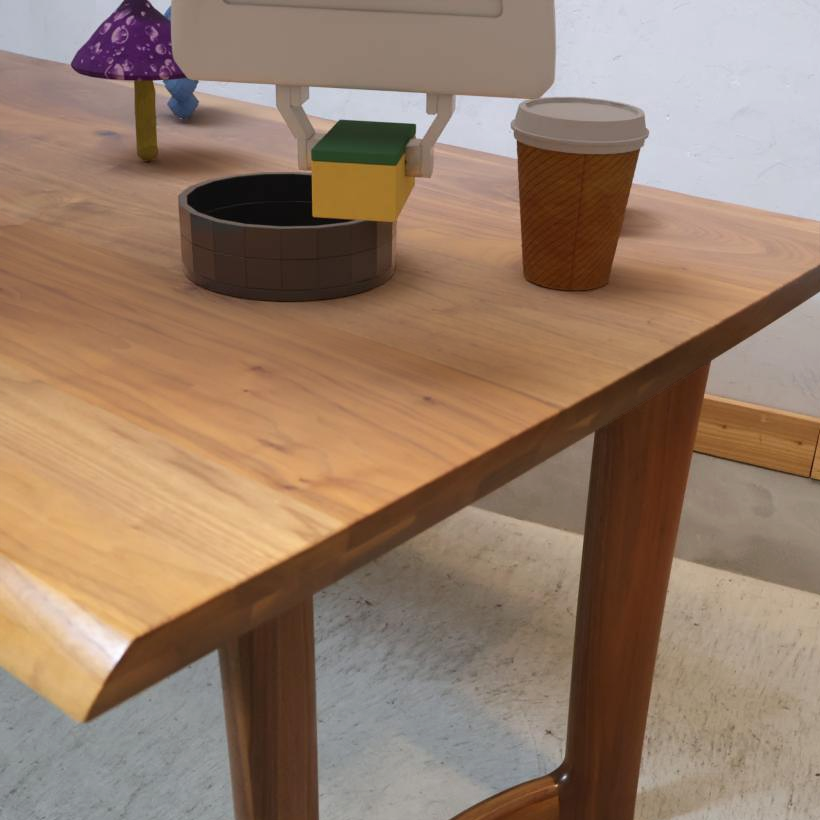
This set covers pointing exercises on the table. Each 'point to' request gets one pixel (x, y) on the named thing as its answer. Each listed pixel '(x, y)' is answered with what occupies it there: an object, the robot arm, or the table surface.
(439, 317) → the table surface
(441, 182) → the table surface
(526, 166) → the disposable coffee cup
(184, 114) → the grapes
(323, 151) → the sponge
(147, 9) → the decorative mushroom
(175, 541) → the table surface
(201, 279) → the bowl
